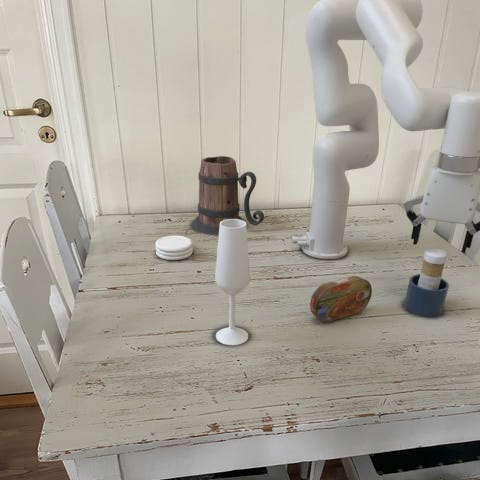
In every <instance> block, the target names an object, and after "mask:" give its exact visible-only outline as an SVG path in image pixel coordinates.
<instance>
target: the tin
mask: <svg viewBox="0 0 480 480" xmlns="http://www.w3.org/2000/svg"><path fill="white" fill-rule="evenodd" d="M372 287H373V286H372V284H371V282H370V281H369V280H367V279H365V278H362V277H361V276H357V275H352V276H348V277H343V278H341V279H340V278H339V279H337V280H333V281H328V282H325V283H322V284H321V285H319V286H318V287H317V288H316V289H315V290H314V292H313V293H312V295H311V296H310V297H311V298H310V303H309V306H310V307H309V308H310V312H311V314H312V315H313V316H314V317H315V318H317V319H318V320H319V321H321V322H323V323H331V322H335V321H337V320H340V319H344V318H347V317H350V316H354V315H357V314H359V313H361V312H362V311H363V310H364V309H366V307H367V306H368V304H369V302H370V300H371V298H372V294H373V289H372Z"/></svg>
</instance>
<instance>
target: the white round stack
mask: <svg viewBox="0 0 480 480" xmlns="http://www.w3.org/2000/svg"><path fill="white" fill-rule="evenodd" d="M154 246H155V254H156V256H157V257H158V258H160V259H162V260H166V261H181V260H185V259H188V258H189V257H191V256H192V255H193V251H194V250H193V248H194V247H193V241H192V239H190V238H189V237H188V236H183V235H166V236H163V237H160V238H158V239H157V240H156V241H155V243H154Z"/></svg>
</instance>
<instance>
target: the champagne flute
mask: <svg viewBox="0 0 480 480" xmlns="http://www.w3.org/2000/svg"><path fill="white" fill-rule="evenodd" d="M242 220H243V219H242ZM242 220H239V219H227V220H223V221H221V222H220V227H219V235H218V240H217V251H216V260H215V261H216V262H215V273H214V282H215V283H216V285H217V286H218V288H219V289H220V290H221V291H223V292H224V293H225V294H227V295H228V297H229V298H228V301H229V302H228V303H229V304H228V307H229V308H228V310H229V311H228V317H229V318H228V320H229V321H228V326H227V327H224V328H221V329H219V330H218V331H216V334H215V338H216V340H217V341H218V343H221V344H223V345H227V346H237V345H241V344H244V343H245V342H246V341H247V340H248V339H249V333H248V332H247V331H246V330H244V329H243V328H240V327H238V326H237V327H236V295H238V294H240V293H241V292H242V291H244V290H245V289H246V288H247V287H248V286H249V284H250V282H251V271H250V270H251V269H250V256H249V244H248V243H249V241H248V230H247V222H246V221H245V220H243V221H242Z"/></svg>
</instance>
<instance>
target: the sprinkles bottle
mask: <svg viewBox="0 0 480 480" xmlns="http://www.w3.org/2000/svg"><path fill="white" fill-rule="evenodd" d="M447 259H448V252H447V251H445V250H443V249H440V248H432V247H431V248H427V249H425V250H424V254H423V263H422V266H421V271H420V273H419V274H420V278H419V281H418V287H421V288H424V289H428V290H438V288H439V285H440V281H441V278H442V277H443V270H444V267H445V264H446V262H447Z"/></svg>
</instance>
